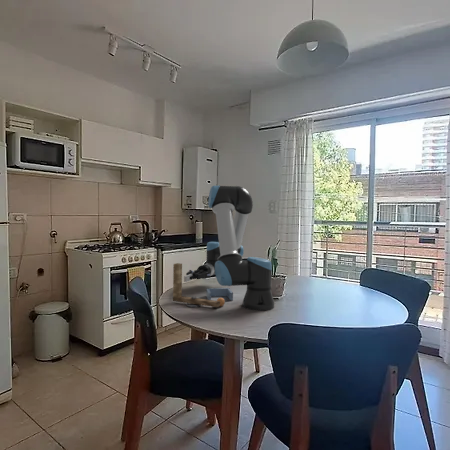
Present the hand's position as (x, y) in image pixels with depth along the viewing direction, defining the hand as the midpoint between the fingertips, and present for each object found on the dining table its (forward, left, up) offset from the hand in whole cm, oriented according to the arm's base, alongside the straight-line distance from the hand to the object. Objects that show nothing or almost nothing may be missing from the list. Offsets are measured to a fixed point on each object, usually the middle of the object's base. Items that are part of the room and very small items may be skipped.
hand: (185, 279), depth 174 cm
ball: (-21, -4, -10) cm, 24 cm away
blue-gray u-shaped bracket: (-11, -14, -10) cm, 20 cm away
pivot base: (-11, +5, -10) cm, 16 cm away
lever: (-13, +4, -9) cm, 16 cm away
